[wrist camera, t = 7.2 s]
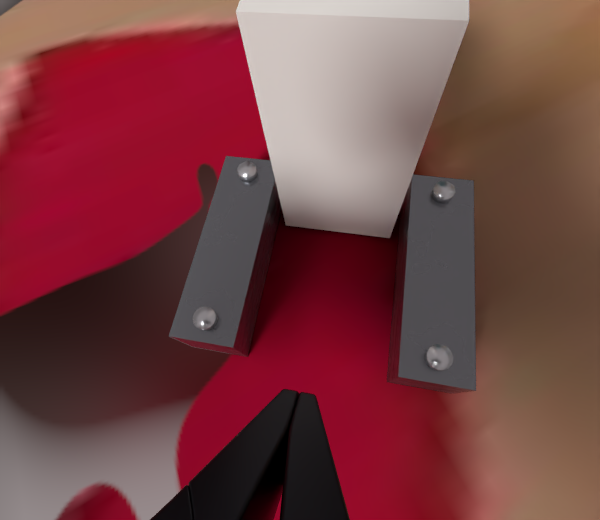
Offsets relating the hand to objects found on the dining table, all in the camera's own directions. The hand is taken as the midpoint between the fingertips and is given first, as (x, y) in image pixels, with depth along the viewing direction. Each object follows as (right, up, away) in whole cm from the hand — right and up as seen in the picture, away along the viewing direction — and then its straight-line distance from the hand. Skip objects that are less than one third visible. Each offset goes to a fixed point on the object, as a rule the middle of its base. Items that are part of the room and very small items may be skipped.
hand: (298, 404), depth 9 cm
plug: (+3, +8, +12) cm, 15 cm away
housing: (+2, +3, +10) cm, 11 cm away
